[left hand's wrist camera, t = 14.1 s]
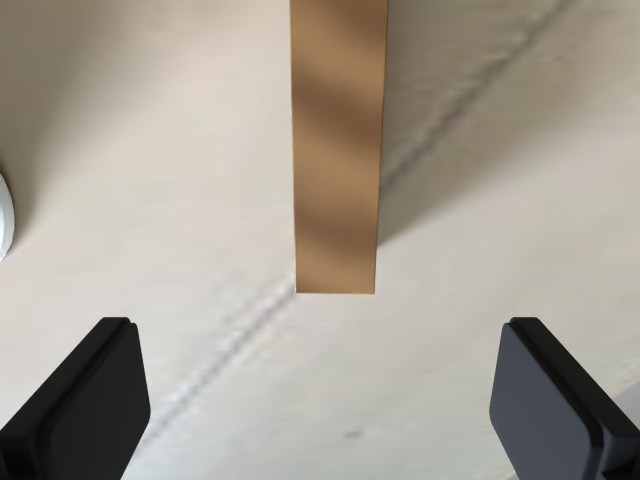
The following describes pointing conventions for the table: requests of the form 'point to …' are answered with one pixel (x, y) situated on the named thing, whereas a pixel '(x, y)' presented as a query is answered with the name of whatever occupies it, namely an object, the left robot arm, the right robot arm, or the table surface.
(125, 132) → the table surface
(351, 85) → the bar
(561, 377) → the left robot arm
